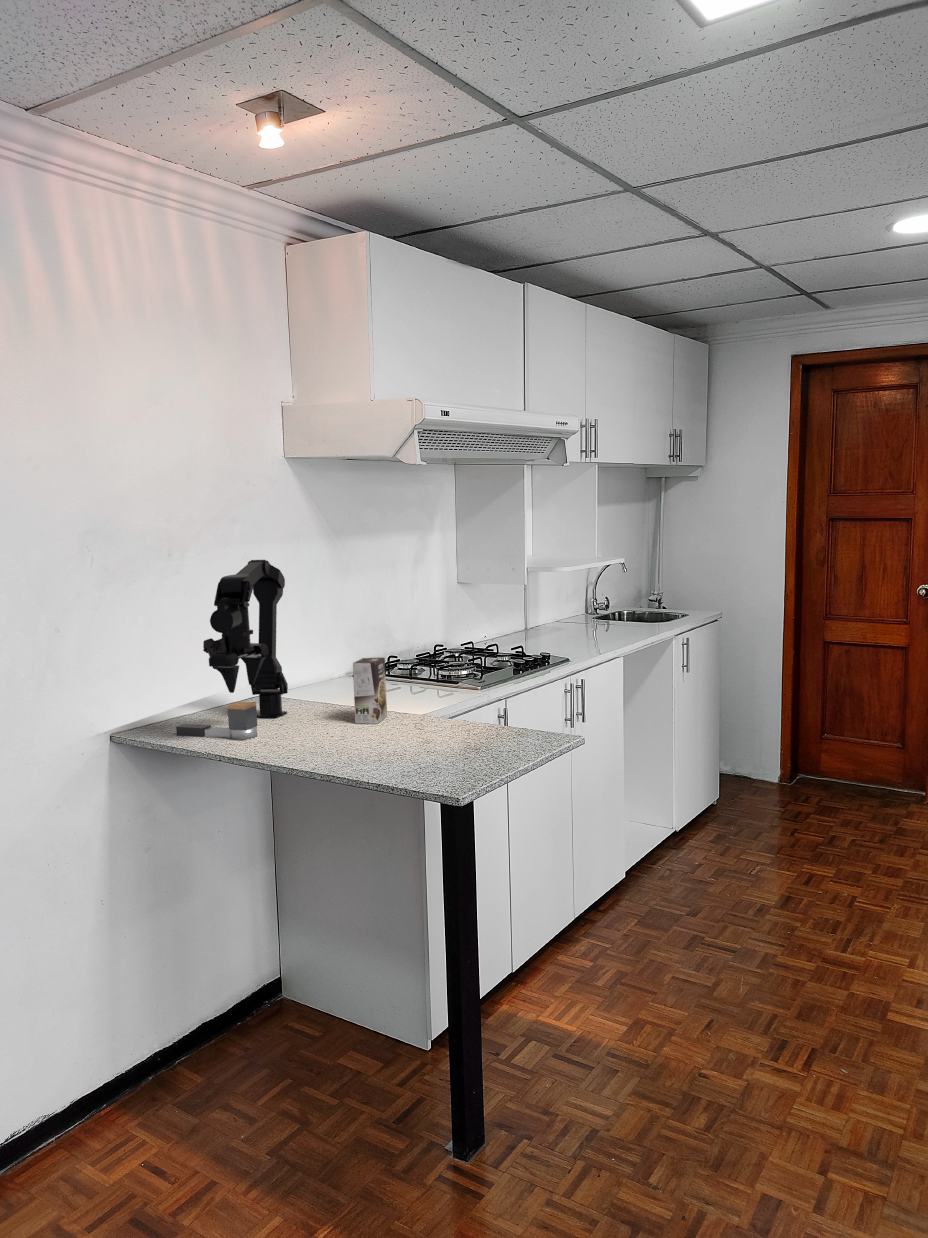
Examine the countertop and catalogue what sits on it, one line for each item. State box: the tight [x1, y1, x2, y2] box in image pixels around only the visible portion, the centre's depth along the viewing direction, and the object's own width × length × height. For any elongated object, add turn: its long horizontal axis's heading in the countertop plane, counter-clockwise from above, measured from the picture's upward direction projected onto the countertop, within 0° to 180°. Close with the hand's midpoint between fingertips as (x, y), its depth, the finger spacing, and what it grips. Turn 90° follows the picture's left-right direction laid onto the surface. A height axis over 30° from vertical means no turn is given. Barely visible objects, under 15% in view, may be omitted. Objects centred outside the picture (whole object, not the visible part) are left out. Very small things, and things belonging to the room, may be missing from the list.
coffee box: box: [352, 657, 388, 725], centre depth 243 cm, size 9×6×16 cm
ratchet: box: [175, 723, 258, 741], centre depth 232 cm, size 6×22×5 cm, turn 71°
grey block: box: [227, 700, 258, 730], centre depth 229 cm, size 5×5×6 cm
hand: (241, 688), depth 232 cm, fingers open, 9 cm apart
